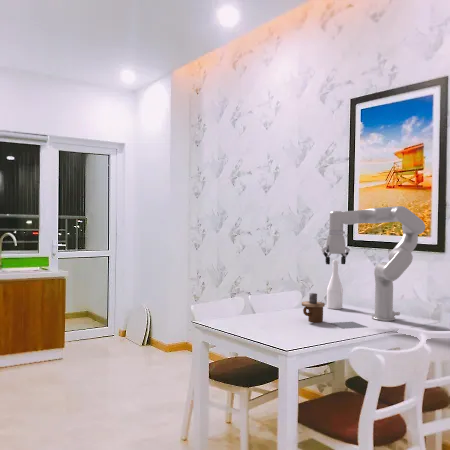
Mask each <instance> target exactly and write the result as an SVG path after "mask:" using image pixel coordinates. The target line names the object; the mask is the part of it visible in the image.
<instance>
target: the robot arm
mask: <svg viewBox="0 0 450 450" xmlns="http://www.w3.org/2000/svg"><path fill="white" fill-rule="evenodd" d="M394 222H396V223H397V222H399V223H400V224H401V229H402V237H401V239H400V241H399V242H398V243H397V244H396V245H395V246H394V248H393V249H391V251H390V252H389V253H388V261H389V262H382V261H381V262H379V263H377V264H376V265H375V267H374V273H373V274H374V275H373V276H374V283H375V285H374V286H375V287H374V290H375V291H374V314H373V315H371V319H372V320H376V321H382V322H383V321H384V322H391V321H393V320H394V321H396V317H395V316H400V315H401V313H400V312H399V311H394V310H393V309H394V308H393V307H394V306H393V305H394V304H393V303H394V283H393V282H394V281H397V280H398V279H399V278H400V277H401V276H402V275H403V274H404V273H405V271H406V270H407V269H408V268H409V267H410V265H411V264H412V263H413V257H414V256H413V254H412V252H413V251H414V250H415V249H416V247H417V245H418V242H419V236H418V235H421V234H423V233H424V232H425V230H426V225H425V222H424V220H422V219H421V218H420V217H418V215H416V214H415V213H413V212H412V211H411V210H410V209H408V208H407V207H406V206H402V205H399V206H396V205H395V206H385V207H373V208H372V207H371V208H366V209H360V210H359V209H358V210H346V211H343V210H342V211H341V210H340V211H339V210H331V211H330V212H329V227H328V228H329V230H328V231H329V232H328V233H329V234H328V235H327V236H326V237H327V238H326V242H325V246H324V247H323V248H321V252H322V255H324V257H325V264H326V265H331V257H330V256H331V255H332V254H333V255H340V256H341V257H340V262H341V263H340V264H341V265H346V262H347V261H346V260H347V259H346V258H347V256H348V255H349V253H350V252H351V249H350V248H348V247H347V246H346V240H345V236H344V234H346V231H344V225H348V226H349V225H352V226H353V225H356V224H357V225H358V224H383V223H394ZM394 321H393V322H394Z"/></svg>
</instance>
